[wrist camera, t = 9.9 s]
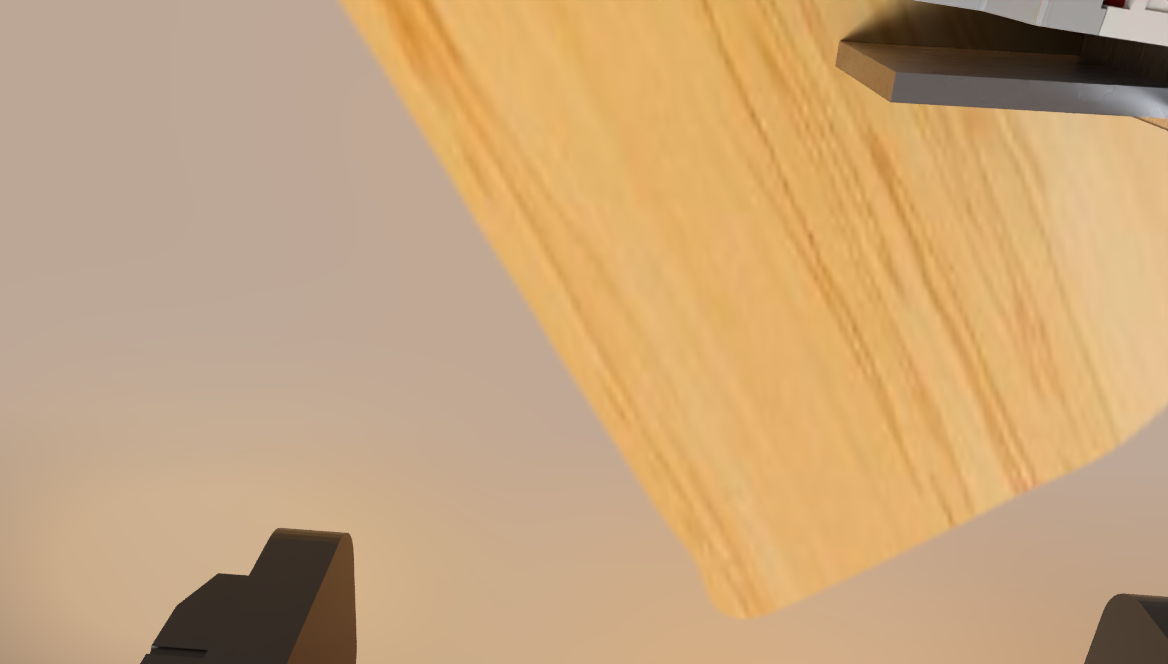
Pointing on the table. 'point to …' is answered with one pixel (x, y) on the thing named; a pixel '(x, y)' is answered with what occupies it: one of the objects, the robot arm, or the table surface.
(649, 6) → the table surface
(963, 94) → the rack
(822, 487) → the table surface
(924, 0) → the circuit breaker
